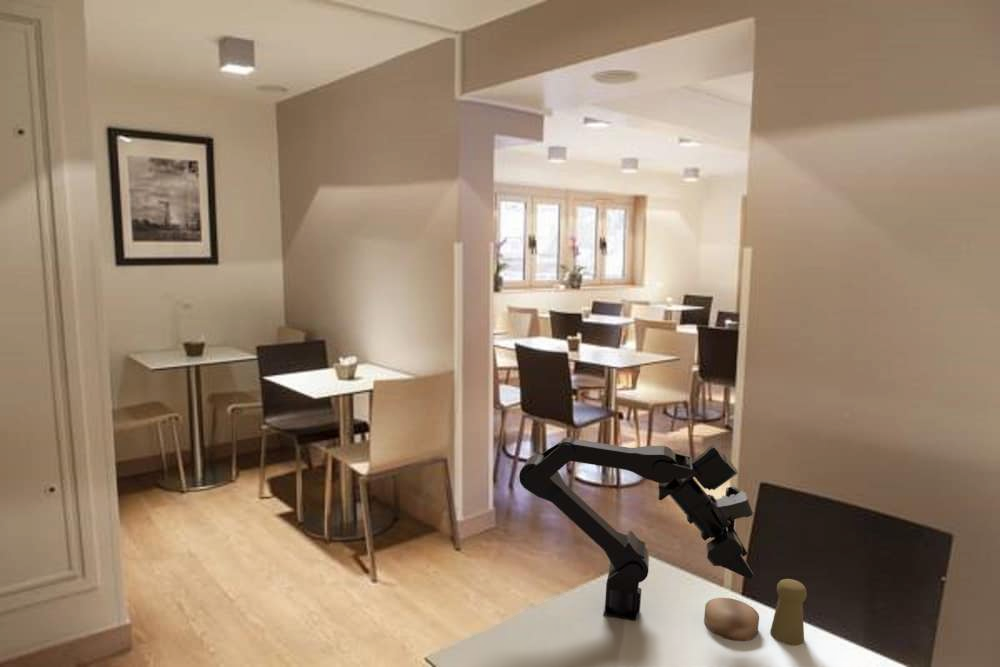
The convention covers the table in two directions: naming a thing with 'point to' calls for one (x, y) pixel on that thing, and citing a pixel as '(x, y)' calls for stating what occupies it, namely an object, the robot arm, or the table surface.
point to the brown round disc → (731, 619)
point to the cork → (789, 613)
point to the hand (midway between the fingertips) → (748, 565)
